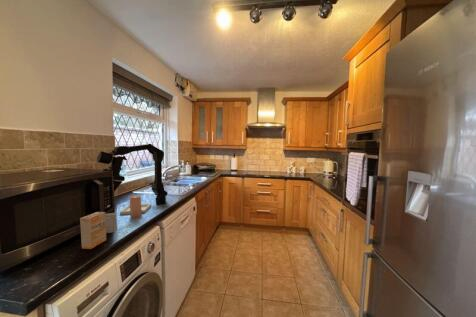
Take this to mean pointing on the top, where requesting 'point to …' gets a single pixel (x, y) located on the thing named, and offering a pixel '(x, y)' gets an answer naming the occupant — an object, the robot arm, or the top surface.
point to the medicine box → (111, 222)
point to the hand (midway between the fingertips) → (109, 191)
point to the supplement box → (93, 230)
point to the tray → (143, 208)
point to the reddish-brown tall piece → (135, 207)
